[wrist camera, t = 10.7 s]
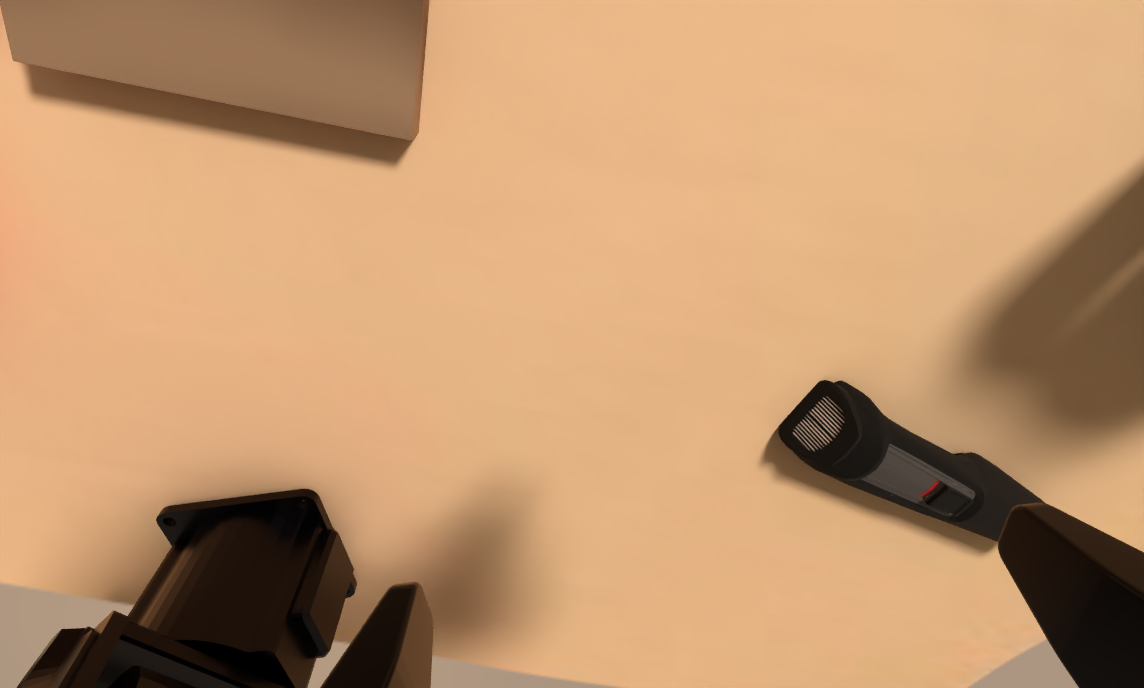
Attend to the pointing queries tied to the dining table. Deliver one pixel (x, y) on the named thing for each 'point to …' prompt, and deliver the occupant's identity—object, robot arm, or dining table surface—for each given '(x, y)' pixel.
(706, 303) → the dining table surface
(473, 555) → the dining table surface
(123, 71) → the socket board
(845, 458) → the electric trimmer
